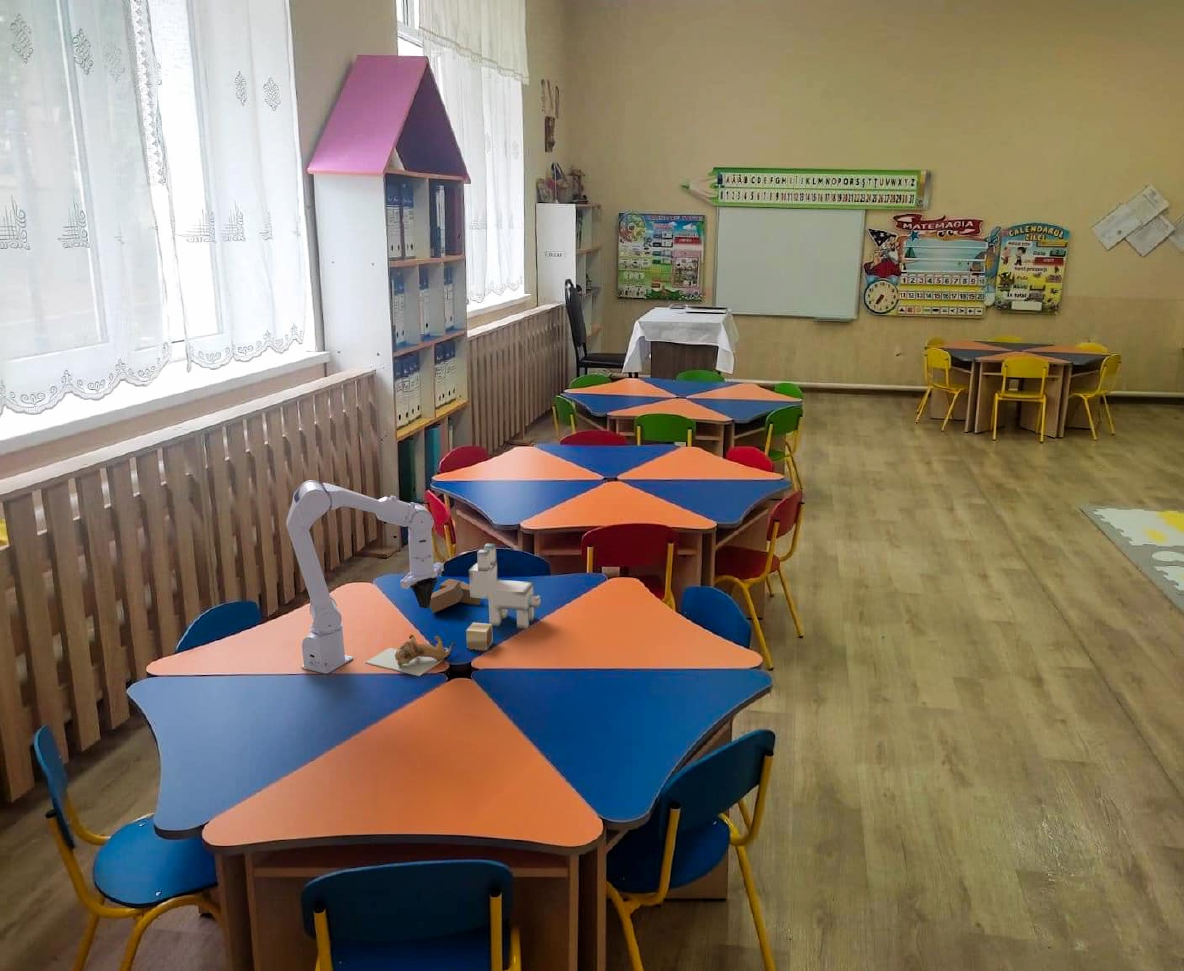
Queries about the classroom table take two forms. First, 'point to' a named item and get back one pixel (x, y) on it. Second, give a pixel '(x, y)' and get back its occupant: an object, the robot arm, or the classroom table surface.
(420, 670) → the felt mat
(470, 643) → the tan cube
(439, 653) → the lion figurine
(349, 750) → the classroom table surface
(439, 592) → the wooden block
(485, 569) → the toy llama
